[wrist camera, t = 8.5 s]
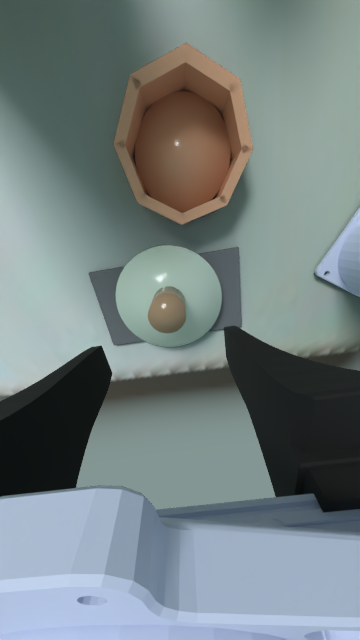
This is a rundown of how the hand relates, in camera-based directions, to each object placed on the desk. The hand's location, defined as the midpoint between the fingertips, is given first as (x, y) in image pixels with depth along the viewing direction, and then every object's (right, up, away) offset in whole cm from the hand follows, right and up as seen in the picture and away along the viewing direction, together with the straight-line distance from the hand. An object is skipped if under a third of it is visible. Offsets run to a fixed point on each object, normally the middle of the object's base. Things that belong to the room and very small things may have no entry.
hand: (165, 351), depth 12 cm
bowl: (+1, +14, +4) cm, 15 cm away
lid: (0, +4, +8) cm, 9 cm away
